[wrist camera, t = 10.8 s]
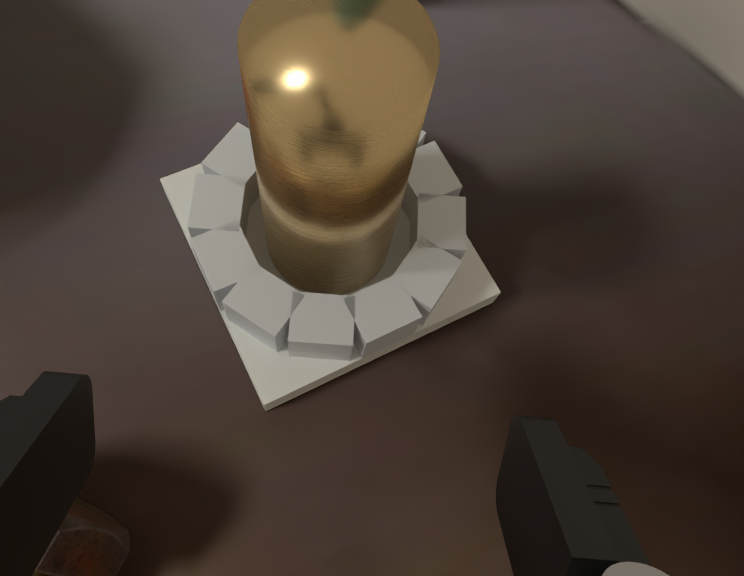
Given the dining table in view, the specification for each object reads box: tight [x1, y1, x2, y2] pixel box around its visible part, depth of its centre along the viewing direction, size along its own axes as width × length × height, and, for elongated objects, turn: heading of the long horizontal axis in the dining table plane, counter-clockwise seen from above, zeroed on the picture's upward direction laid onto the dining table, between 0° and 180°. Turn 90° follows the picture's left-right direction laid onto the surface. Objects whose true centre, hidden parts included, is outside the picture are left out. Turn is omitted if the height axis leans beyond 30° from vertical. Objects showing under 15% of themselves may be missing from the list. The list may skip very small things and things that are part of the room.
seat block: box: [160, 122, 501, 411], centre depth 26 cm, size 10×10×3 cm
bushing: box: [237, 0, 440, 295], centre depth 21 cm, size 5×5×11 cm
